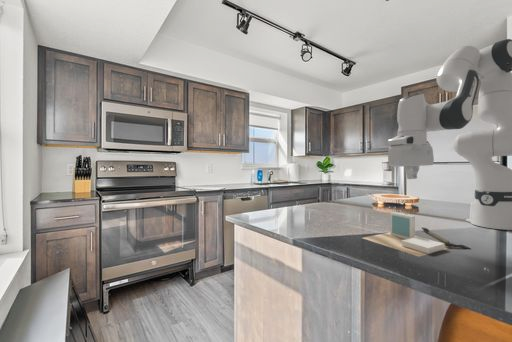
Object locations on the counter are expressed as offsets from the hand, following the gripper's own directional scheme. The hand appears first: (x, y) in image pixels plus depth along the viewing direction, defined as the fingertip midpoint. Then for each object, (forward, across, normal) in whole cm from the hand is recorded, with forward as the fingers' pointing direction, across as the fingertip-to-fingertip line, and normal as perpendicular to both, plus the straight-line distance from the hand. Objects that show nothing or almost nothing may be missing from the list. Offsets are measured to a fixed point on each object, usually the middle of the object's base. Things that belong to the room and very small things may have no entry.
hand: (412, 178), depth 88 cm
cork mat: (+21, +10, +4) cm, 23 cm away
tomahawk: (+21, -4, +7) cm, 22 cm away
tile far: (+20, +6, 0) cm, 21 cm away
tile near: (+19, +6, +10) cm, 23 cm away
